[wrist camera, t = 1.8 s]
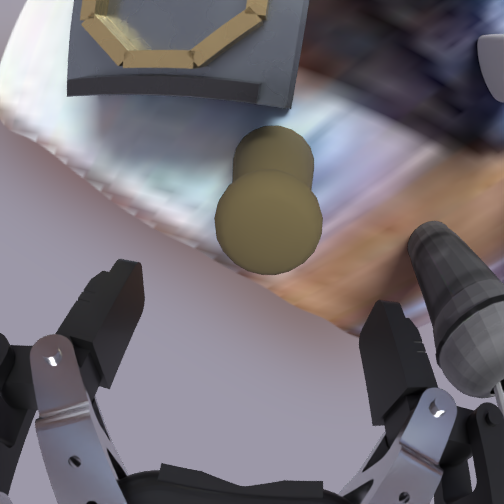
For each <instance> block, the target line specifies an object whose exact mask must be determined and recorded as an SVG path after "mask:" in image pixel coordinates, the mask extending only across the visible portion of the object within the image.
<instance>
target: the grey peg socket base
mask: <svg viewBox="0 0 504 504" xmlns="http://www.w3.org/2000/svg"><path fill="white" fill-rule="evenodd" d="M308 5H309V0H74V6H73V13H72V21H71V30H70V41H69V54H68V74H67V97H70V96H89V95H161V96H181V97H195V98H207V99H218V100H227V101H236V102H244V103H251V104H259V105H265V106H272V107H278V108H284V109H286V108H287V109H291V106H292V100H293V95H294V89H295V83H296V77H297V71H298V65H299V59H300V54H301V48H302V42H303V36H304V29H305V23H306V17H307V11H308Z"/></svg>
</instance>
